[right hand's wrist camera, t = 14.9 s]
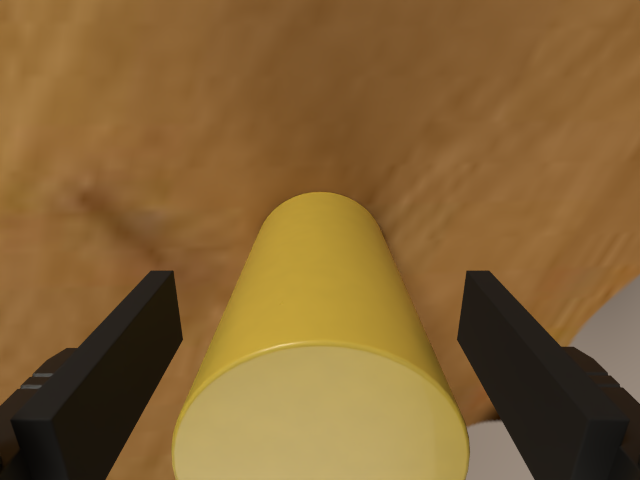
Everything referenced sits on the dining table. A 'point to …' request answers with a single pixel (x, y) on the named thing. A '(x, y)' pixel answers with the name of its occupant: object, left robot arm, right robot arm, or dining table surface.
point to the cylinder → (320, 364)
